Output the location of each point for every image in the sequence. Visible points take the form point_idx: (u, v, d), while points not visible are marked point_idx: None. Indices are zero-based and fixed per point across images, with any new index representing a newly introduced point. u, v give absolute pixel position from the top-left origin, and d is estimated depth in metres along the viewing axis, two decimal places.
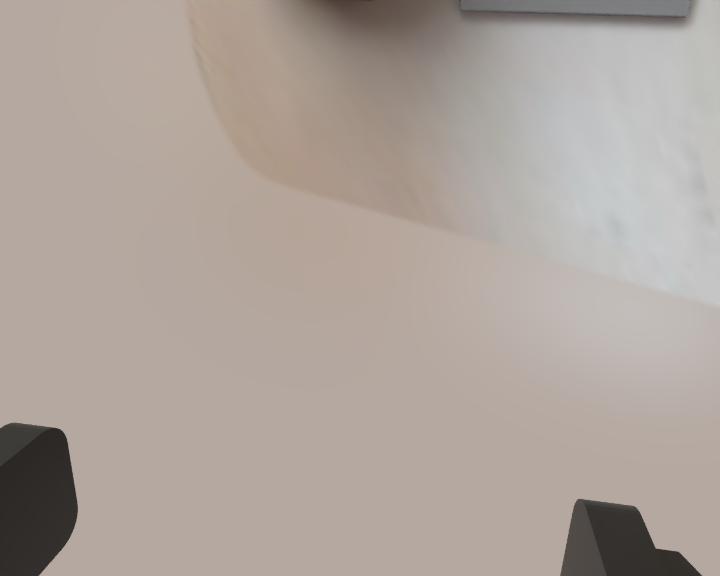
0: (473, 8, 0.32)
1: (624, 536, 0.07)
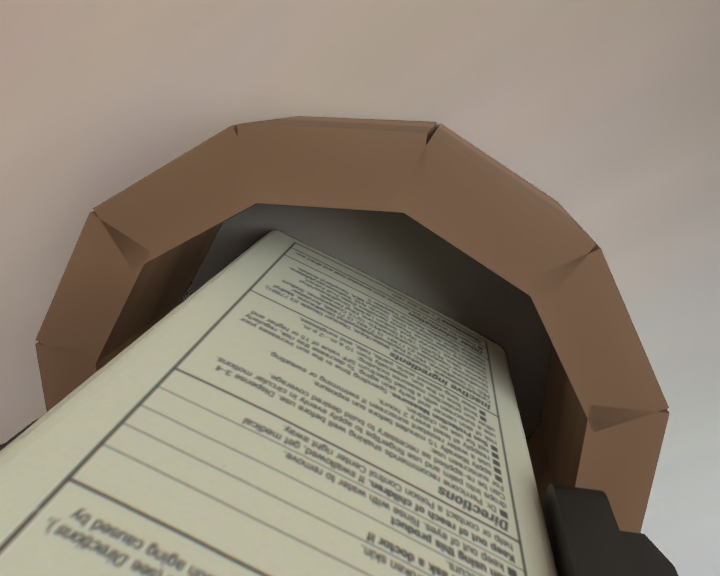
0: None
1: (590, 518, 0.07)
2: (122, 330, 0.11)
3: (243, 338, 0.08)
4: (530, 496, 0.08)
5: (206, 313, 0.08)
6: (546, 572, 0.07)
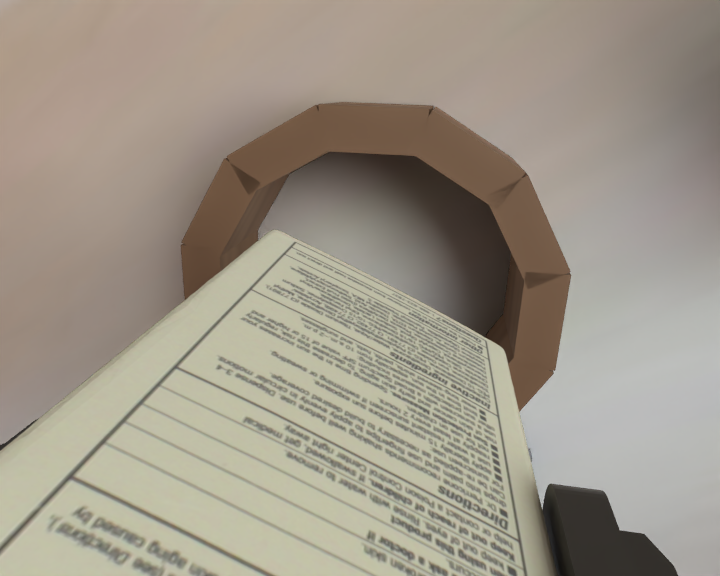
0: None
1: (590, 518, 0.07)
2: (234, 237, 0.17)
3: (244, 337, 0.08)
4: (530, 495, 0.08)
5: (208, 312, 0.08)
6: (546, 571, 0.07)
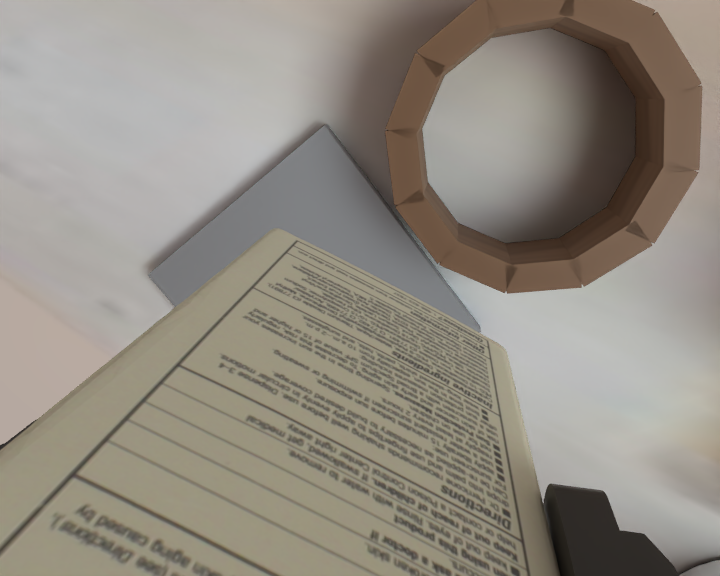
0: (312, 136, 0.25)
1: (590, 518, 0.07)
2: (510, 27, 0.20)
3: (246, 335, 0.08)
4: (532, 495, 0.08)
5: (210, 310, 0.08)
6: (549, 571, 0.07)
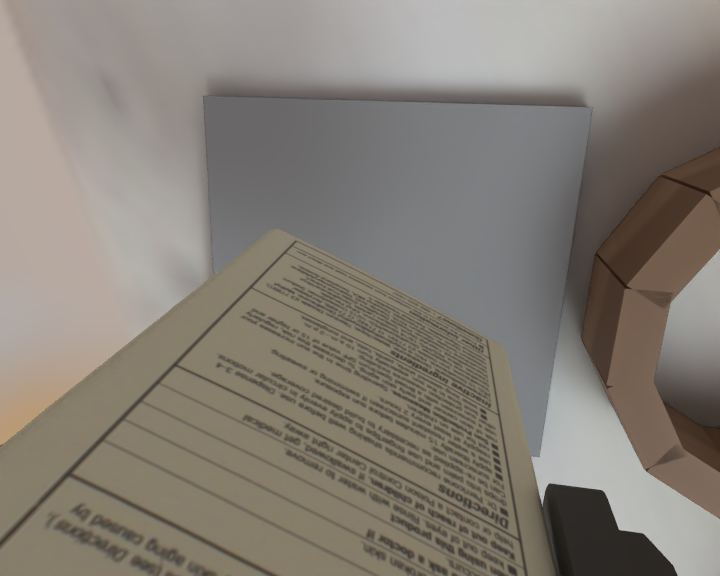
0: (565, 108, 0.17)
1: (589, 517, 0.07)
2: None
3: (243, 335, 0.08)
4: (530, 494, 0.08)
5: (207, 311, 0.08)
6: (546, 570, 0.07)
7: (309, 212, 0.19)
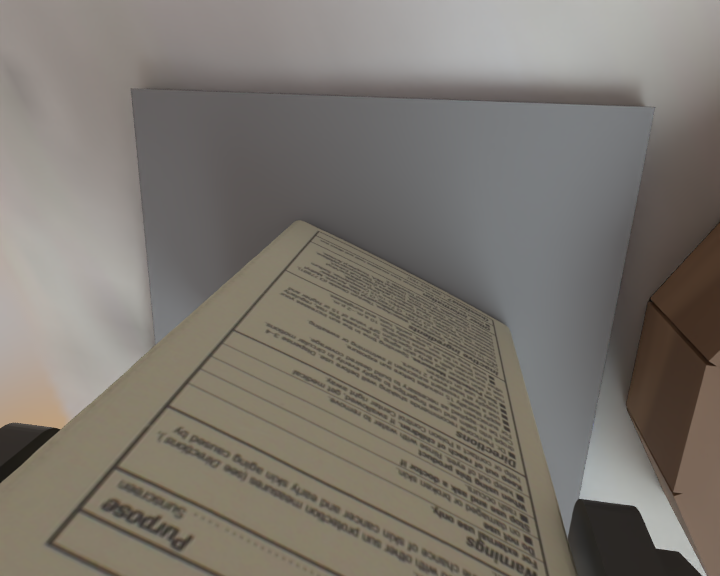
0: (618, 108, 0.12)
1: (624, 536, 0.07)
2: None
3: (284, 309, 0.09)
4: (534, 444, 0.09)
5: (252, 288, 0.09)
6: (548, 500, 0.08)
7: None
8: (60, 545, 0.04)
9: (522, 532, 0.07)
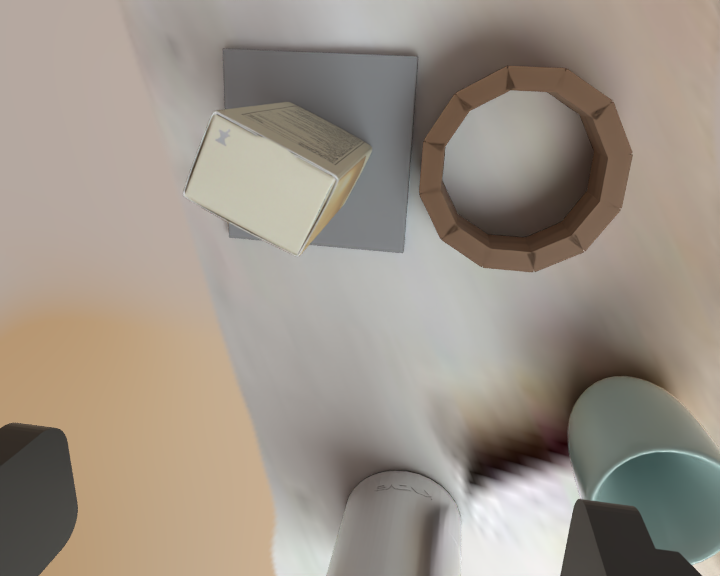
0: (404, 56, 0.33)
1: (624, 536, 0.07)
2: (563, 97, 0.30)
3: (282, 112, 0.30)
4: (357, 154, 0.30)
5: (272, 107, 0.31)
6: (353, 157, 0.29)
7: None
8: (243, 115, 0.25)
9: (340, 154, 0.28)
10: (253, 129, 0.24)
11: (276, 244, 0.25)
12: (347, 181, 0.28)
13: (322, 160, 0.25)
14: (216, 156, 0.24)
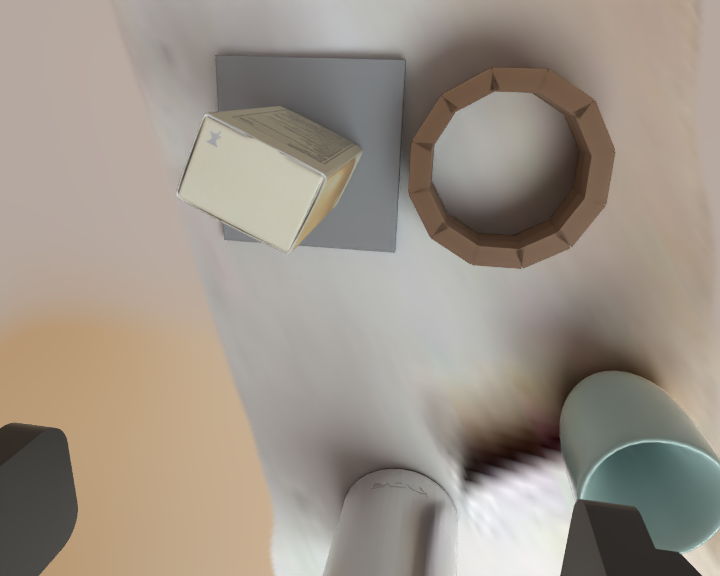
0: (392, 60, 0.34)
1: (624, 536, 0.07)
2: (546, 97, 0.31)
3: (273, 116, 0.31)
4: (347, 155, 0.31)
5: (263, 110, 0.31)
6: (343, 158, 0.30)
7: None
8: (234, 117, 0.26)
9: (330, 154, 0.29)
10: (243, 130, 0.25)
11: (267, 242, 0.26)
12: (337, 181, 0.29)
13: (311, 160, 0.26)
14: (208, 157, 0.25)
